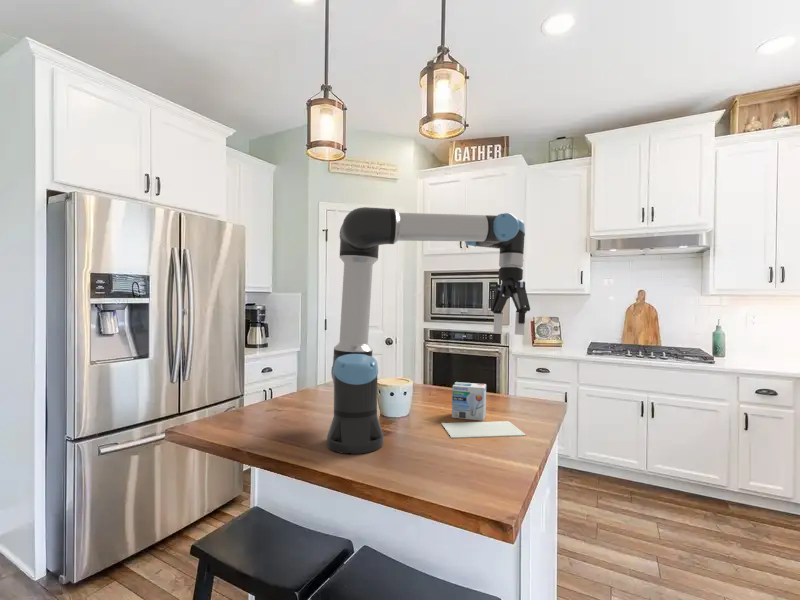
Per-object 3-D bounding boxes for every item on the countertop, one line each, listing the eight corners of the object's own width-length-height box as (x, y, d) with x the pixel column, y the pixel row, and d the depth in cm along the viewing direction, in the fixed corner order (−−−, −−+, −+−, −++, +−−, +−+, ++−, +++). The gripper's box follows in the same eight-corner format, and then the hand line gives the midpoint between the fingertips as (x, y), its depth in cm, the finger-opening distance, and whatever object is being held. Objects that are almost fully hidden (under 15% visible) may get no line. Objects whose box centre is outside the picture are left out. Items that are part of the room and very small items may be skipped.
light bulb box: (451, 418, 137) (451, 385, 136) (454, 412, 143) (455, 381, 143) (484, 421, 133) (484, 387, 133) (486, 415, 140) (486, 383, 140)
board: (451, 438, 117) (451, 437, 117) (441, 424, 130) (441, 423, 130) (525, 435, 120) (525, 434, 120) (508, 422, 133) (508, 421, 133)
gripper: (544, 264, 123) (541, 336, 121) (502, 273, 147) (499, 333, 145) (521, 261, 121) (518, 334, 119) (482, 271, 145) (479, 331, 143)
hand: (507, 334), depth 132 cm, fingers open, 13 cm apart
